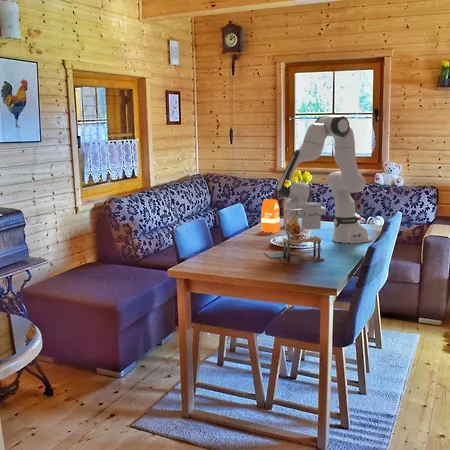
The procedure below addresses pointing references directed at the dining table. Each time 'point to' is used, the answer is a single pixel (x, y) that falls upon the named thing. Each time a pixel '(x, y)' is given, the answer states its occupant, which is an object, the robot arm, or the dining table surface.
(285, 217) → the candle
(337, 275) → the dining table surface
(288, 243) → the wooden post stand
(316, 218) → the supplement box
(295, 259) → the brown board
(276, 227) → the orange juice
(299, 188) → the robot arm
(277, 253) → the mat
